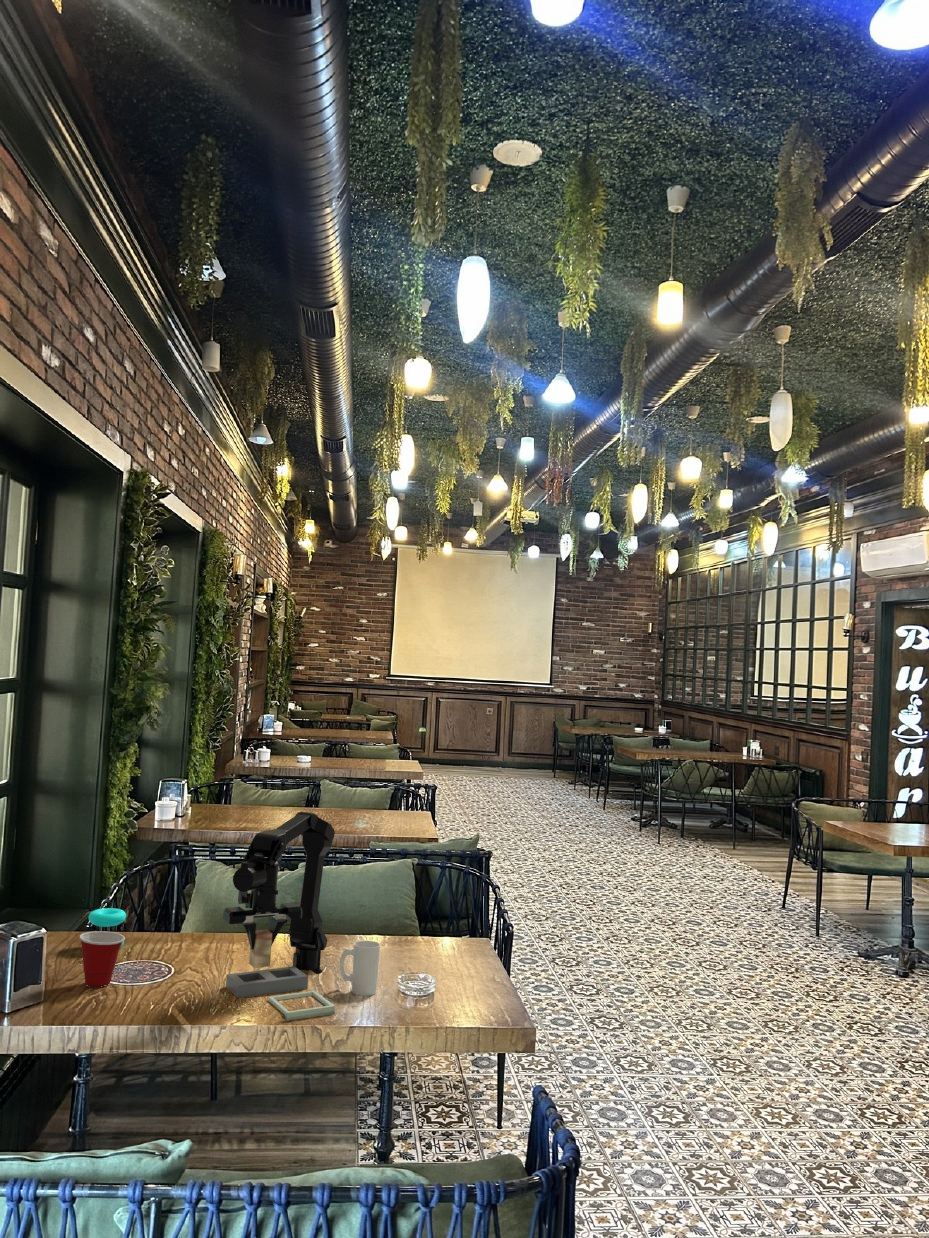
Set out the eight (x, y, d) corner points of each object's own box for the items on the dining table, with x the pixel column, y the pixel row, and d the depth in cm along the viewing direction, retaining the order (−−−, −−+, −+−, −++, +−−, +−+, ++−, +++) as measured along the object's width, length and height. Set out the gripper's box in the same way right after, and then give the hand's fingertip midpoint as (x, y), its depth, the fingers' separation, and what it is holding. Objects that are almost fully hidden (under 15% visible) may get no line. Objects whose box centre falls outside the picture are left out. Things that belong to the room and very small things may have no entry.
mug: (376, 987, 242) (379, 940, 243) (377, 996, 235) (380, 948, 236) (337, 987, 241) (340, 939, 242) (337, 995, 234) (340, 947, 235)
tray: (314, 997, 232) (314, 990, 232) (334, 1013, 222) (334, 1005, 222) (267, 1004, 225) (268, 996, 226) (286, 1020, 215) (287, 1012, 215)
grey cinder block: (293, 981, 243) (294, 966, 243) (306, 992, 236) (307, 976, 236) (225, 990, 234) (226, 974, 234) (237, 1001, 226) (238, 984, 226)
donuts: (133, 908, 269) (114, 916, 259) (130, 944, 268) (111, 953, 259) (101, 905, 271) (81, 913, 261) (98, 940, 270) (78, 950, 260)
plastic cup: (119, 990, 229) (123, 940, 230) (72, 991, 226) (76, 941, 227) (123, 976, 240) (127, 929, 241) (78, 977, 237) (82, 929, 238)
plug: (264, 961, 234) (266, 929, 235) (269, 966, 231) (272, 933, 231) (249, 963, 232) (251, 930, 233) (254, 967, 229) (256, 934, 229)
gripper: (289, 875, 245) (284, 936, 243) (218, 879, 235) (214, 943, 234) (305, 884, 235) (300, 948, 234) (232, 889, 225) (227, 955, 224)
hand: (260, 948), depth 232 cm, fingers closed on plug, 4 cm apart
